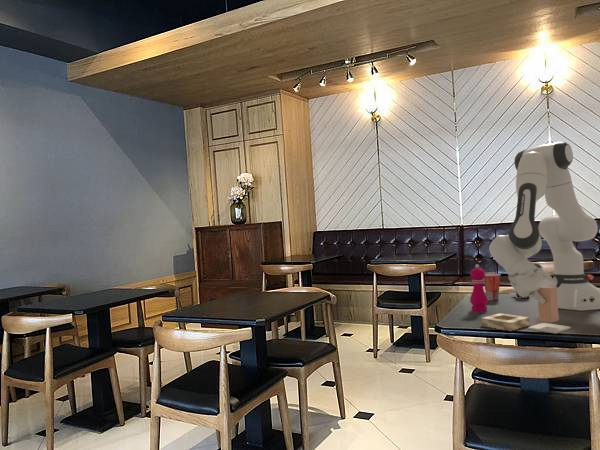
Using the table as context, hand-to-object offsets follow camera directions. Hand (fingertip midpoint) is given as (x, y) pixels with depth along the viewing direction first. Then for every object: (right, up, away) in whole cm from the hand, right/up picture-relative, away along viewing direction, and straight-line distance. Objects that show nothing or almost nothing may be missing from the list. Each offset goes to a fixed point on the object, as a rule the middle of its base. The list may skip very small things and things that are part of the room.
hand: (549, 301), depth 175 cm
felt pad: (0, -10, +1) cm, 10 cm away
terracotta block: (0, -7, +1) cm, 7 cm away
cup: (+3, -9, +62) cm, 62 cm away
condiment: (+18, -8, +63) cm, 66 cm away
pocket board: (-12, -10, +9) cm, 18 cm away
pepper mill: (-11, -10, +38) cm, 40 cm away
